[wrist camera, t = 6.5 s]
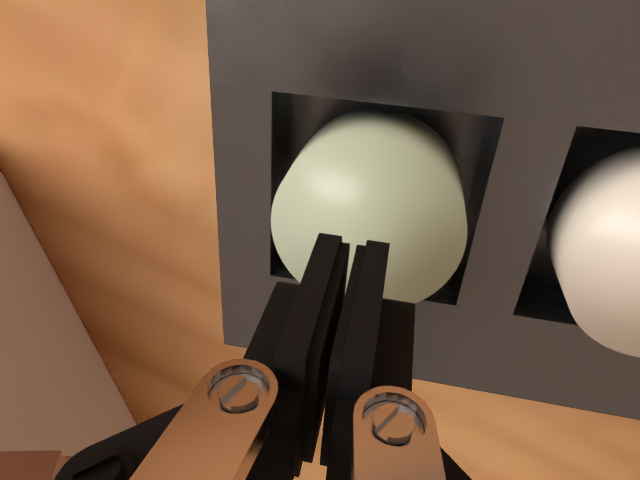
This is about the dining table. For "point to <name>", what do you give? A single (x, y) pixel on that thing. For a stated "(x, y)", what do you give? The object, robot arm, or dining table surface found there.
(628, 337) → the cream button
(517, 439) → the dining table surface
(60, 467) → the robot arm
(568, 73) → the button console
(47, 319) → the rounded white slab
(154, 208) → the dining table surface
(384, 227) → the sage button
